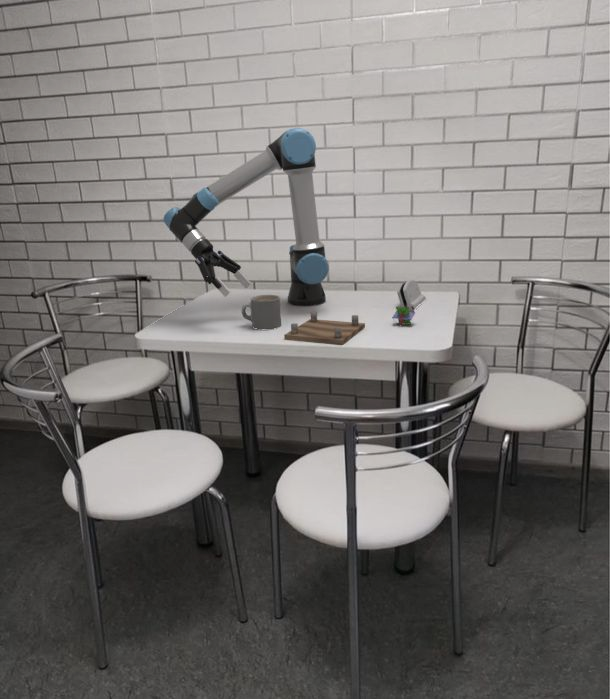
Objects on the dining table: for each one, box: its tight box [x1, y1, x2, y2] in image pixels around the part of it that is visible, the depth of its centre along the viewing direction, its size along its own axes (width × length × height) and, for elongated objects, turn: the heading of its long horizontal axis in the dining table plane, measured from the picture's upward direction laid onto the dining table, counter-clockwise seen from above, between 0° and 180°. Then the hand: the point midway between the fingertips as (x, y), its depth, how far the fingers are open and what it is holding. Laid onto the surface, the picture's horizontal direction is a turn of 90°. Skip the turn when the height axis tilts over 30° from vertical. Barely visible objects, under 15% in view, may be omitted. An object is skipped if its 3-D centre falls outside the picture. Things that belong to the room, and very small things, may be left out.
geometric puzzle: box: [391, 305, 416, 326], centre depth 202 cm, size 7×7×8 cm
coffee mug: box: [241, 294, 282, 330], centre depth 209 cm, size 13×10×10 cm
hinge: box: [396, 279, 427, 310], centre depth 229 cm, size 17×5×10 cm, turn 155°
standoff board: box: [284, 311, 366, 346], centre depth 197 cm, size 20×20×4 cm
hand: (238, 290), depth 209 cm, fingers open, 13 cm apart
